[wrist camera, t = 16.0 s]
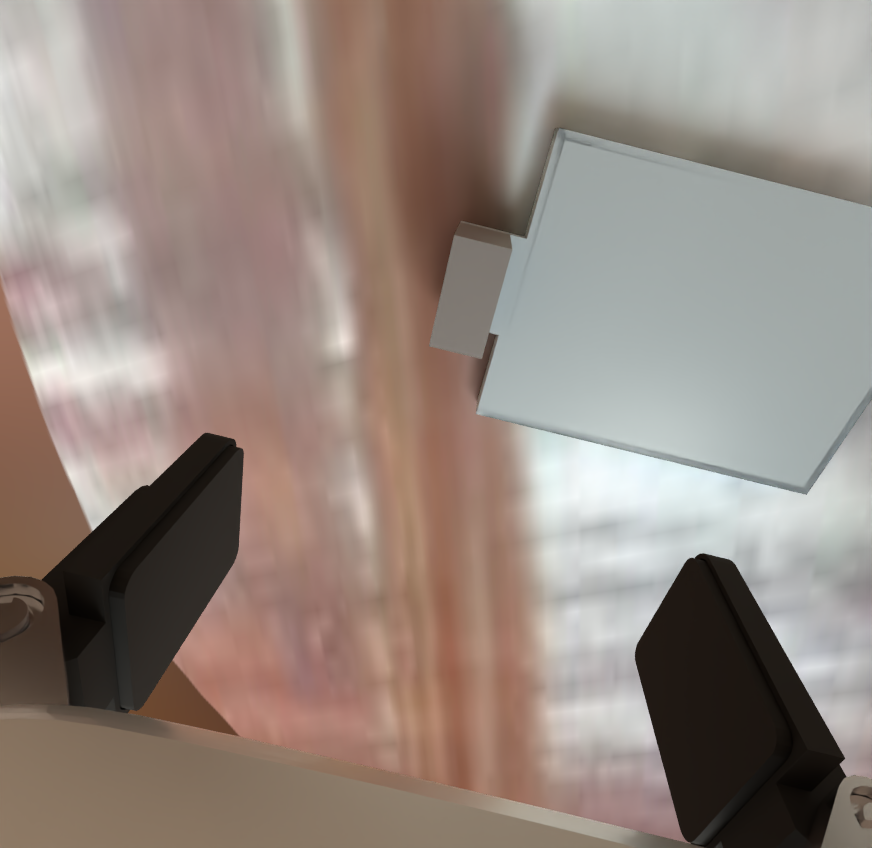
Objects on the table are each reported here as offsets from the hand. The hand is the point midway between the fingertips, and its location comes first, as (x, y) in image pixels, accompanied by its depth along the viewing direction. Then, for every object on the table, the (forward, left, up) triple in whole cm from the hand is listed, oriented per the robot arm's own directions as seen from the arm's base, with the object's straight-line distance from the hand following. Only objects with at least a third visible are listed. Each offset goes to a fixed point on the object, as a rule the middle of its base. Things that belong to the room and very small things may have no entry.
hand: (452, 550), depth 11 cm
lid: (0, -12, -26) cm, 29 cm away
